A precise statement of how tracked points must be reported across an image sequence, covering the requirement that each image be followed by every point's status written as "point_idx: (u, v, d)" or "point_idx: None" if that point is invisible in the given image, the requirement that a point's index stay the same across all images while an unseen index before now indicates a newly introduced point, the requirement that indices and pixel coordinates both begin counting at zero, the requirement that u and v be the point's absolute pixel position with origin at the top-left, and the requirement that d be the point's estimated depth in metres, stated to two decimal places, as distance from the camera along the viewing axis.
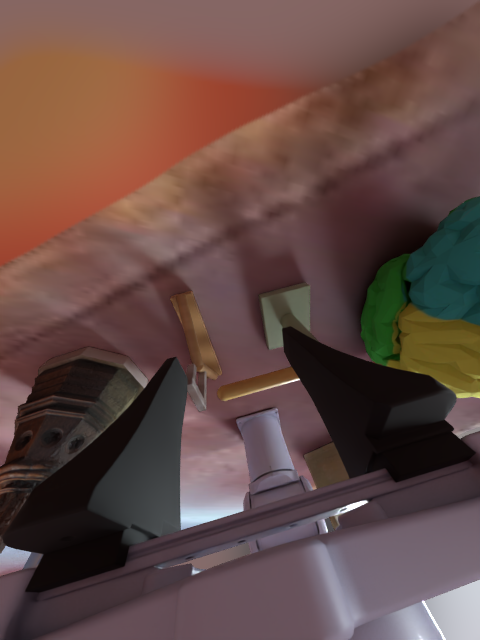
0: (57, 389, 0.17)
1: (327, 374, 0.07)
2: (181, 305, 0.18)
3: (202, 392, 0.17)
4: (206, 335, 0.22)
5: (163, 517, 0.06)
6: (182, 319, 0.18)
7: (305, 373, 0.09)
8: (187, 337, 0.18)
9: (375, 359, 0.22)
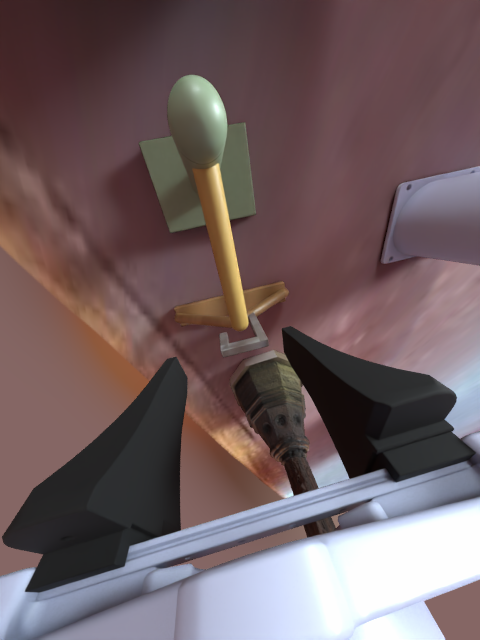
0: (244, 408, 0.24)
1: (327, 374, 0.07)
2: (182, 321, 0.19)
3: (255, 332, 0.14)
4: (224, 298, 0.20)
5: (163, 517, 0.06)
6: None
7: (305, 373, 0.09)
8: (208, 325, 0.18)
9: None
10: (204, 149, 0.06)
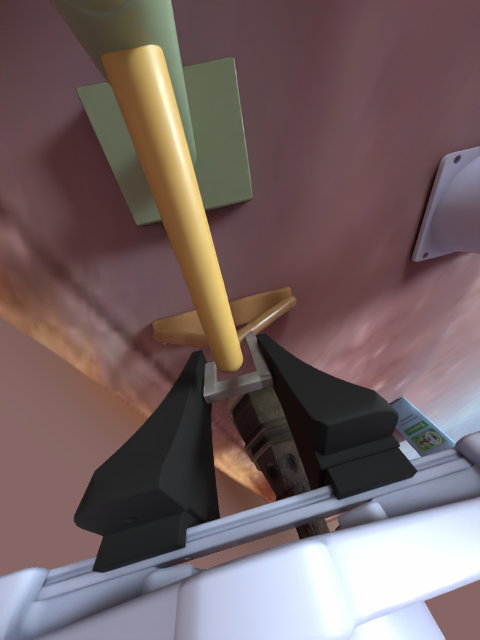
0: None
1: (286, 385, 0.07)
2: (162, 339, 0.15)
3: (253, 363, 0.10)
4: None
5: (207, 504, 0.06)
6: (176, 343, 0.15)
7: (275, 381, 0.09)
8: (194, 346, 0.14)
9: None
10: None
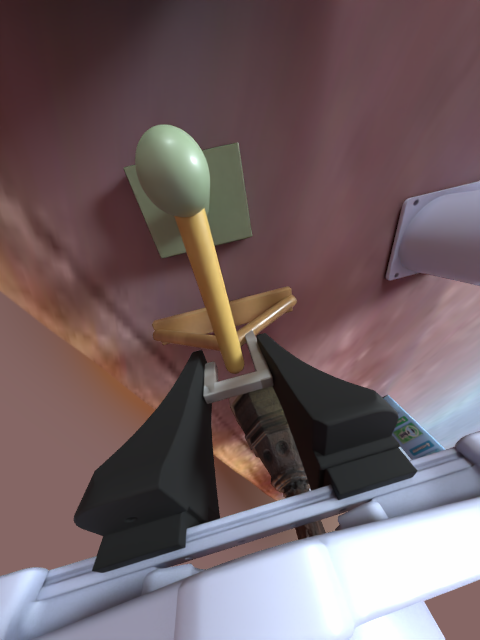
0: (244, 431, 0.23)
1: (286, 385, 0.07)
2: (162, 340, 0.15)
3: (253, 363, 0.10)
4: None
5: (207, 504, 0.06)
6: (176, 343, 0.15)
7: (275, 381, 0.09)
8: (194, 346, 0.14)
9: None
10: (182, 206, 0.05)
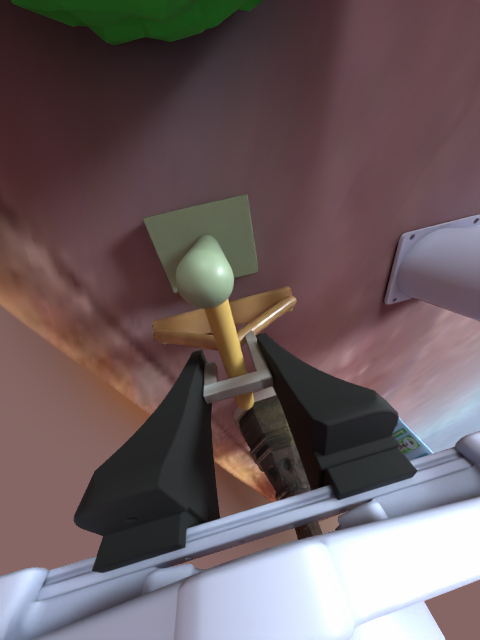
0: (249, 446, 0.24)
1: (286, 385, 0.07)
2: (161, 339, 0.15)
3: (253, 363, 0.10)
4: None
5: (207, 504, 0.06)
6: (176, 343, 0.15)
7: (274, 381, 0.09)
8: (194, 346, 0.14)
9: None
10: (212, 306, 0.06)
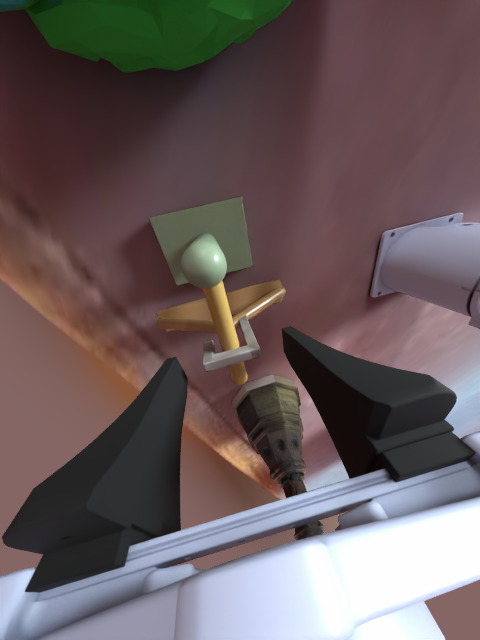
0: (246, 431, 0.25)
1: (327, 374, 0.07)
2: (165, 326, 0.17)
3: (245, 340, 0.12)
4: None
5: (163, 517, 0.06)
6: (178, 329, 0.16)
7: (305, 373, 0.09)
8: (194, 330, 0.15)
9: None
10: (209, 286, 0.08)
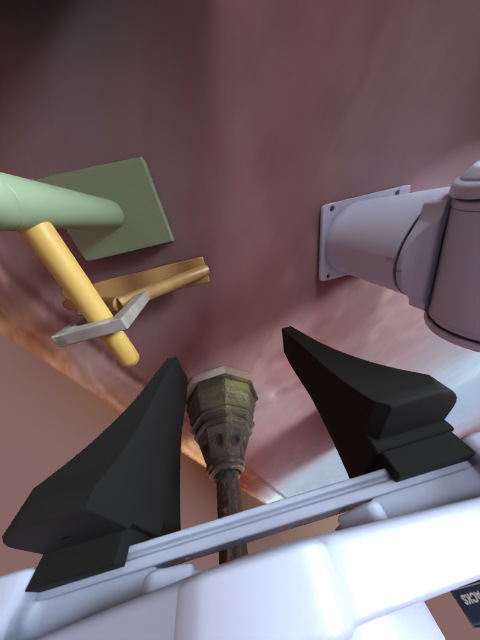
0: (191, 425, 0.24)
1: (327, 374, 0.07)
2: (69, 307, 0.15)
3: None
4: (125, 277, 0.16)
5: (163, 517, 0.06)
6: None
7: (305, 373, 0.09)
8: None
9: None
10: None
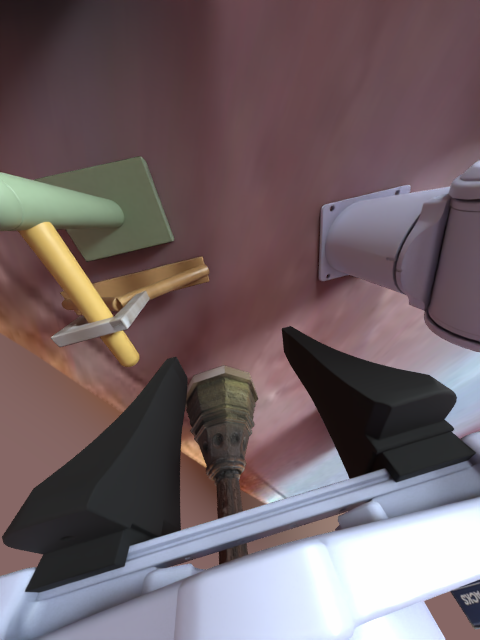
0: (191, 425, 0.24)
1: (327, 374, 0.07)
2: (68, 307, 0.15)
3: None
4: (125, 277, 0.16)
5: (163, 517, 0.06)
6: None
7: (305, 373, 0.09)
8: None
9: None
10: None
